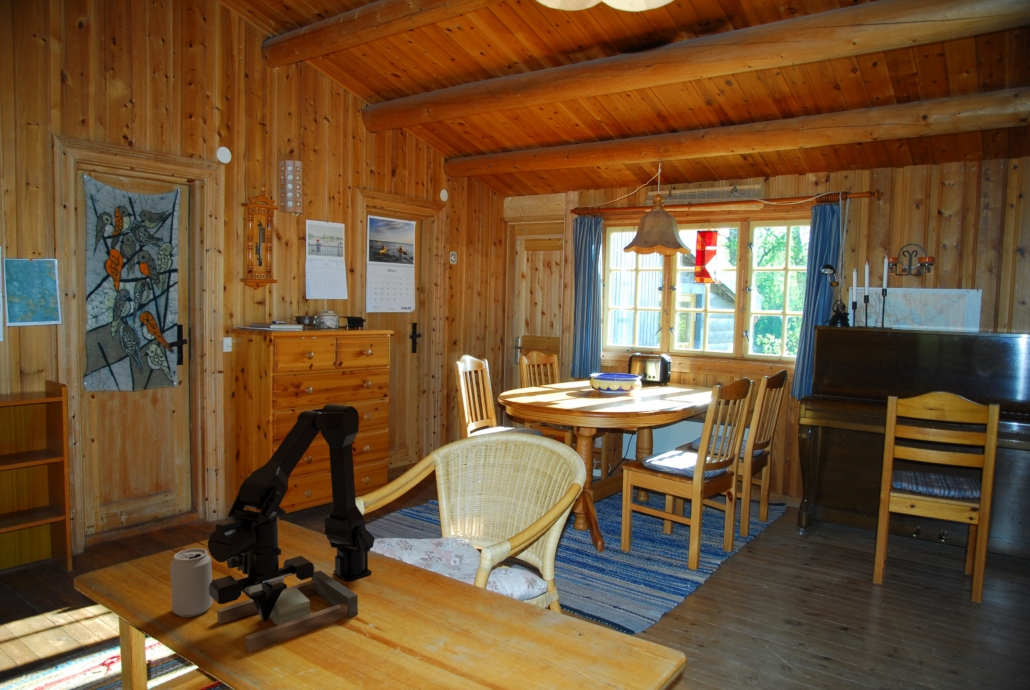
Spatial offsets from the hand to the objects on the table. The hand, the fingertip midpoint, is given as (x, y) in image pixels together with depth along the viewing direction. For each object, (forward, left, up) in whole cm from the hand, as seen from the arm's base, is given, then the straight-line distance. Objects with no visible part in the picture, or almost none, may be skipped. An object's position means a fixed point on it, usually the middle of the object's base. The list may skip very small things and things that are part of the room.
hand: (264, 620), depth 134 cm
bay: (-5, 0, -1) cm, 5 cm away
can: (+8, -16, -1) cm, 18 cm away
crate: (-5, 0, -1) cm, 5 cm away
